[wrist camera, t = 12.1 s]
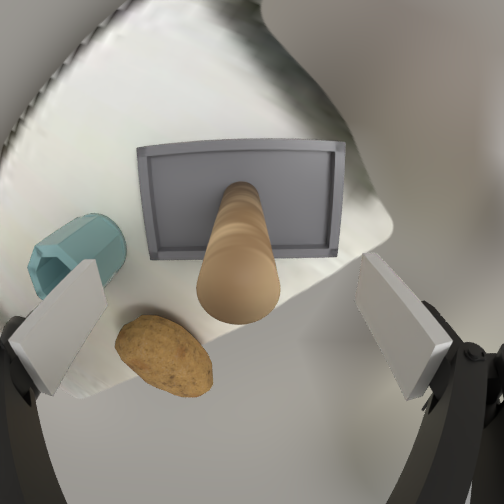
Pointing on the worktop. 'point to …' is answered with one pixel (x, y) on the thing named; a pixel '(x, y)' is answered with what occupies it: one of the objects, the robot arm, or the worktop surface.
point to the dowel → (239, 261)
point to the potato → (165, 356)
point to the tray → (248, 170)
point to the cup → (77, 251)
